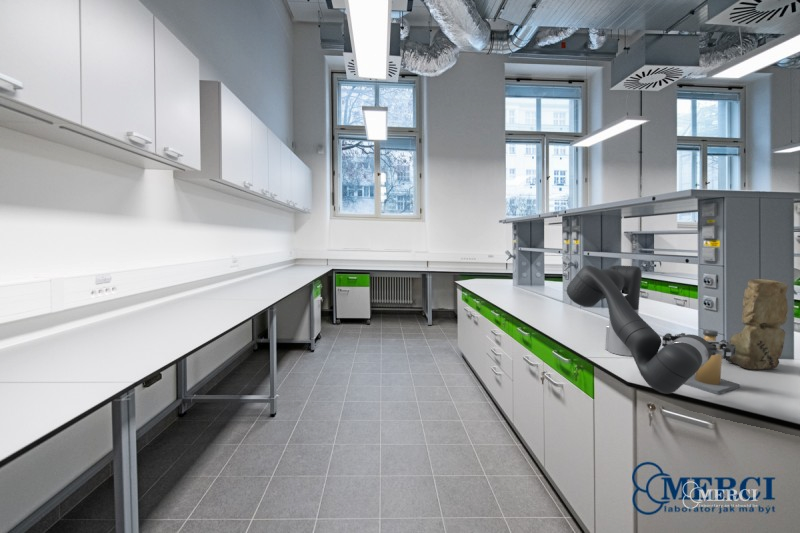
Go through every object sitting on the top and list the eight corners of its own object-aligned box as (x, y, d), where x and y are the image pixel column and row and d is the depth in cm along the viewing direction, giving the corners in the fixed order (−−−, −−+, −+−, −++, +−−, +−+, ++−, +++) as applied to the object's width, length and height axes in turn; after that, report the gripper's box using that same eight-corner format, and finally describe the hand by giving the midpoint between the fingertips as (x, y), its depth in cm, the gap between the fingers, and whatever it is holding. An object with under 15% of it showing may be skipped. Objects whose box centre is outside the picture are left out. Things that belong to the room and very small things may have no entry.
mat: (676, 381, 107) (676, 378, 107) (699, 375, 111) (699, 372, 111) (717, 394, 98) (717, 391, 97) (739, 387, 102) (739, 384, 102)
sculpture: (755, 361, 124) (762, 277, 122) (785, 371, 115) (793, 280, 113) (722, 362, 124) (728, 277, 121) (749, 372, 115) (756, 280, 112)
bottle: (691, 379, 106) (693, 329, 105) (701, 376, 108) (704, 327, 107) (713, 386, 101) (716, 334, 100) (724, 382, 103) (727, 332, 102)
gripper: (728, 344, 80) (739, 332, 91) (654, 331, 91) (672, 321, 102) (726, 376, 81) (737, 360, 91) (652, 359, 92) (670, 347, 102)
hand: (703, 340), depth 96 cm, fingers open, 8 cm apart
